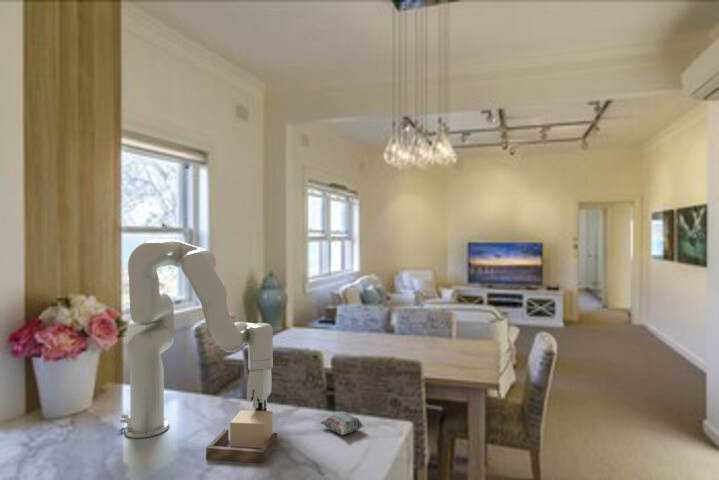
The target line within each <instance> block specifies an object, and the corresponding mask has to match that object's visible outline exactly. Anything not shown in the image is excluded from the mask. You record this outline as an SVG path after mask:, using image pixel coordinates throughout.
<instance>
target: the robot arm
mask: <svg viewBox="0 0 719 480" xmlns="http://www.w3.org/2000/svg"><path fill="white" fill-rule="evenodd" d="M166 266H172V267H176V268H180V269H181V271H182V273H183V275H184V276H185V278H186V280H187V281H188V283H189V285H190V286H191V288H192V290H193V292H194V293H195V295H196V297H197V298H198V301H199V303H200V304H201V309H202V312H203V313H202V314H203V316H204V319H205V323H206V327H207V328H208V330H209V332H210V335H212V337H213V339H214V341H215V342H216V344H217V346H218V347H219V348H220V349H222V350H223V351H224V352H227V353H235V352H237V351H239V350H240V349H241V348H242V347H243V346H245V345H247V346H248V347H247V348H248V351H247V352H248V360H247V361H248V370H249V372H248V376H247V378H248V379H247V396H246V400H247V402H248V403H251V402H252V408H253V409H254V411H267V406H268V404H267V403H268V397H269V396H270V394H271V393H272V388H273V387H272V385H273V384H272V383H273V382H272V378H273V377H272V369H273V368H274V363H273V361H274V357H273V356H274V355H273V353H274V350H273V349H274V347H273V346H274V345H273V340H274V337H273V334H274V333H273V332H274V331H273V330H274V329H273V326H272V324H270V323H267V322H257V323H253V322H247V321H236V322H235V321H234V320H233V319H232V317H231V314H230V312H229V309H228V305H227V300H228V299H227V298H228V297H227V296H228V294H227V293H228V291H227V289H226V286H225V285H224V283H223V282H222V280H221V279H220V276H219V275H218V273H217V271H216V270H215V269H216V266H217V259H216V257H215V255H214V254H213V253H212V252H211V251H209V250H208V249H205V248H202V247H198V246H196V245H192V244H188V243H186V242H182V241H180V240H176V239H172V238H171V239H169V238H168V239H167V238H166V239H165V238H163V239H162V238H161V239H152V240H148V241H145V242H143V243H141V244H139V245H138V246H136V247H135V248H134V249H133V251H132V252H131V254H130V256H129V258H128V262H127V273H128V286H129V287H128V294H129V295H128V296H129V313H130V317H131V320H132V322H133V323H134V324H136V325H138V326H144V327H145V328H143V329H141V330H139V331H137V332H135V333H134V334H133V335H132V336H131V338H130V339H129V341H128V343H127V346H126V354H127V358H128V365H129V388H130V389H129V392H130V394H129V395H130V397H129V398H130V399H129V401H130V402H129V405H130V406H129V407H130V411H129V412H130V413H122V415H121V418H120V420H119V423H121V424H126V427H125V428H124V434H125V436H127V437H128V438H132V439H133V438H135V439H143V438H144V439H145V438H149V437H153V436H157V435H159V434H161V433H164V432H165V431H167V429H168V428H170V421H169V420H168V419H166V418H165V407H164V406H165V405H164V404H165V390H164V389H165V388H164V387H165V386H164V384H165V379H164V378H165V370H164V365H163V364H164V363H163V359H162V356H161V355H162V354H163V353H164V352H165V351H168V349H170V348H171V347H172V345H173V344H174V342H175V311H174V310H175V309H174V303H173V301H172V299H171V297H170V295H168V293H165V292H163V291H160V278H159V275H158V272H157V269H158V268H160V267H166Z"/></svg>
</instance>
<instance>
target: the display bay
mask: <svg viewBox="0 0 719 480" xmlns="http://www.w3.org/2000/svg"><path fill="white" fill-rule="evenodd" d="M228 440H229V429H228V428H227V429H225V428H224V429H223V430H222V431H221V432H220V433H219V434H218V436H216V437H215V438H214V439H213V440H212V441H211V442H210V443H209V444H208V445H207V446H206V447H205V459H209V460H221V461H222V460H223V461H231V462H242V463H243V462H245V463H256V464H264V463H265V461H266V460H267V458H268V457H269V455H271V453H272V452H273V449H274V448H275V447H276V445H277V444H278V432H273V434H272V435H271V436H270V438H269V439H268V440H267V442H266V443H265V445H264V446H263V447H262V448H261V449H260V448H257V449H255V448H247V447H233V446H230V447H229V446H224V445H225V443H227V442H228Z"/></svg>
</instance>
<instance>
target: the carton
mask: <svg viewBox="0 0 719 480" xmlns="http://www.w3.org/2000/svg"><path fill="white" fill-rule="evenodd" d="M273 414H274V413H273V410H272V411H271V410H266V411H255V410H247V409H246V410H245V409H244V410H243V409H241V410H240V411H239V412H238V413H237V414H235V415H236V416H234V418H233V419H232V420H231V421H230V423H229V425H230V429H229V430H230V433H229V434H230V435H229V436H230V437H229V438H230V439H229V440H230V443H229V444H230V447H232V448H257V449H260V448H261V449H262V447H263V446H264V445H265V443H266V442H267V440H268V439H269V438H270V436H271V435H272V434H273V433H274V431H273V430H274V427H273V425H274V423H273V421H274V420H273Z"/></svg>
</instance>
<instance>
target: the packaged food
mask: <svg viewBox="0 0 719 480" xmlns="http://www.w3.org/2000/svg"><path fill="white" fill-rule="evenodd" d="M319 424H321V425H323V426H324V427H325V428H327V429H329V430H332V431H334V432H336V433H337V434H340V435H341V436H345V435H347V434H350V433H354V432H356V431H358V430H360V429H361V428H364V425H363V423H362V422H361V421H360V419H359V418H357V417H355V416H353V415H351V414H348V413H347V412H345V411H337V412H334V413H332V414H331V415H329V416H327V417H326V418H325V419H323V420H322V421H321V420H320V421H319Z"/></svg>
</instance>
